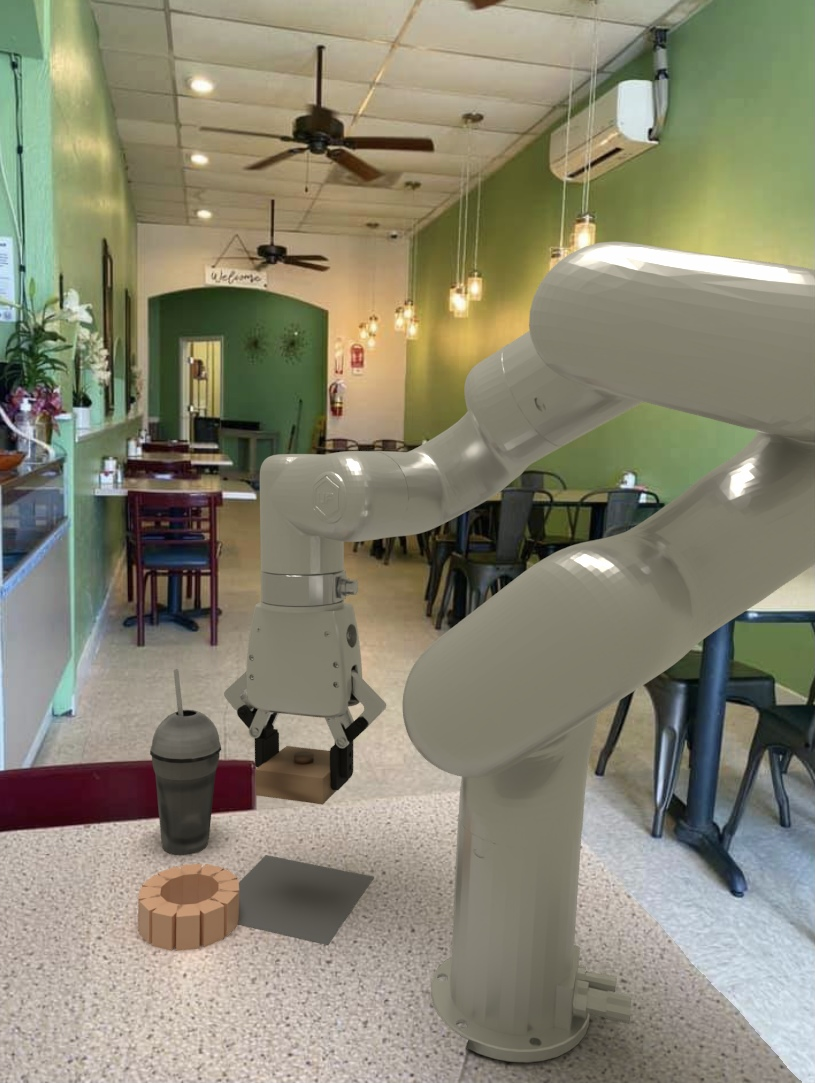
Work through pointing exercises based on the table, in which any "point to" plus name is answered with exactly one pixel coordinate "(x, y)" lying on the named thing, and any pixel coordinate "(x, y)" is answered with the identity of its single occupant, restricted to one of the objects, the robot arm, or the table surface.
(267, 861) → the mat
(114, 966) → the table surface
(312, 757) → the lid
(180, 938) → the bowl
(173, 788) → the beverage cup
